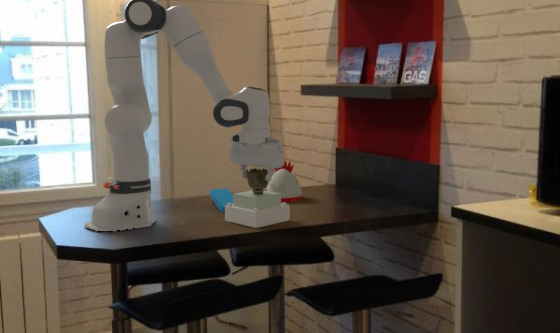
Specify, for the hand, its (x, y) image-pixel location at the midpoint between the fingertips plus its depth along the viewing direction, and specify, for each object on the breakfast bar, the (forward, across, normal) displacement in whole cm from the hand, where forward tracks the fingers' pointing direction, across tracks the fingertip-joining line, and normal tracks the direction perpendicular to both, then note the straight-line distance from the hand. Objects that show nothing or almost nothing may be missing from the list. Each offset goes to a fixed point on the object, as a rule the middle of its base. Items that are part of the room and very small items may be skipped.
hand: (256, 179), depth 208 cm
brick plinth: (+14, 0, 0) cm, 14 cm away
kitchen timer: (+14, +16, -36) cm, 42 cm away
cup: (+5, 0, 0) cm, 5 cm away
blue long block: (+14, +25, -10) cm, 30 cm away
